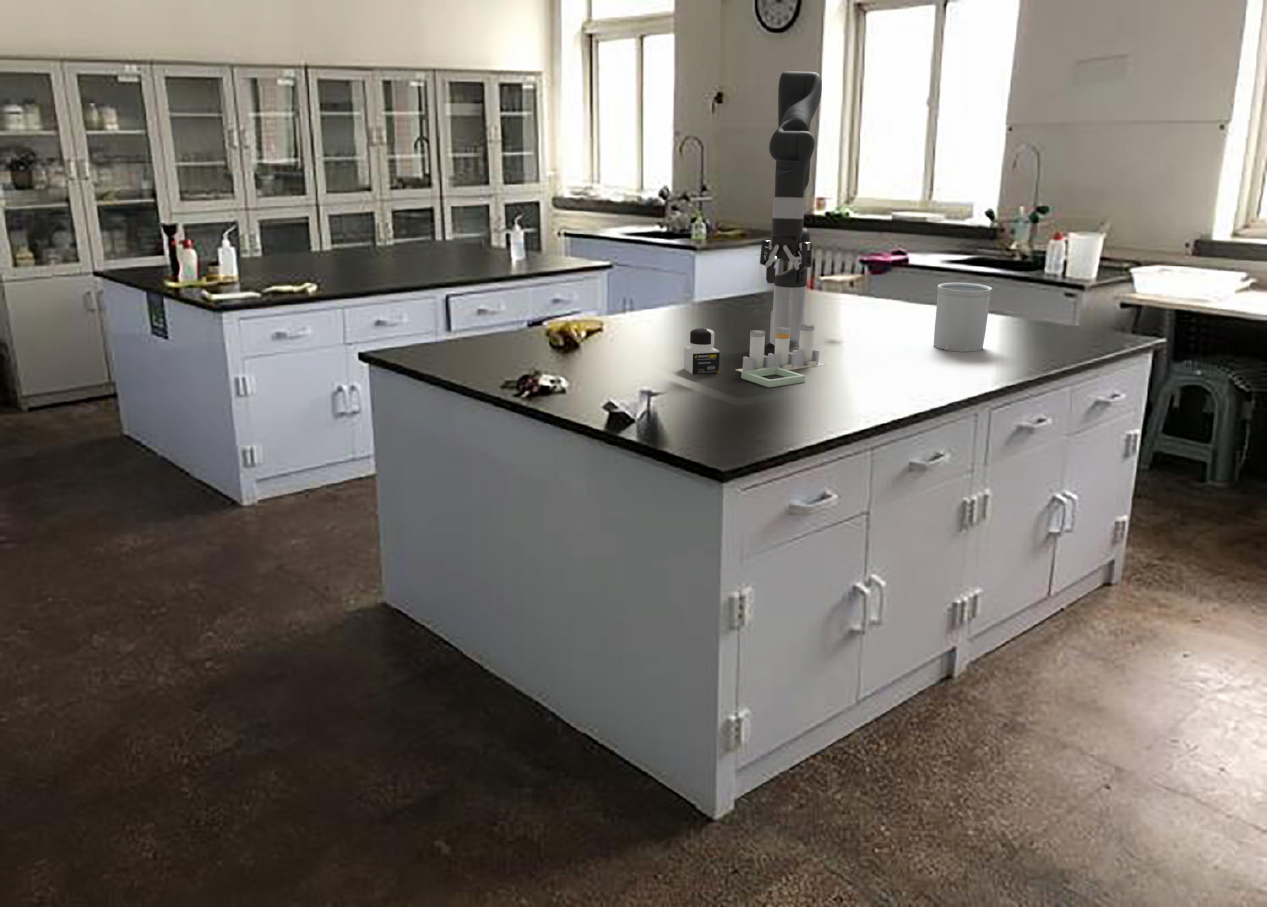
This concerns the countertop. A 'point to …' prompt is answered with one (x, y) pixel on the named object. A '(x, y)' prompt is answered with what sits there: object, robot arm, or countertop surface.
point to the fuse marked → (782, 345)
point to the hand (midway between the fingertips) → (784, 284)
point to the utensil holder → (961, 316)
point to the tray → (789, 379)
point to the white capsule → (806, 342)
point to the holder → (793, 363)
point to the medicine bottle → (701, 353)
